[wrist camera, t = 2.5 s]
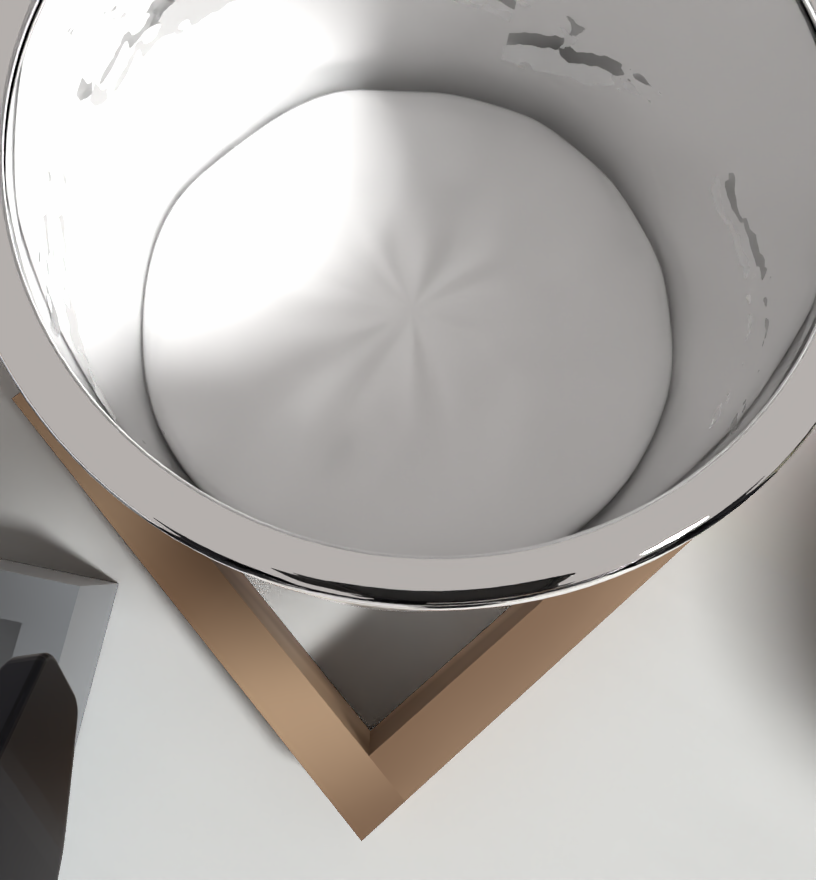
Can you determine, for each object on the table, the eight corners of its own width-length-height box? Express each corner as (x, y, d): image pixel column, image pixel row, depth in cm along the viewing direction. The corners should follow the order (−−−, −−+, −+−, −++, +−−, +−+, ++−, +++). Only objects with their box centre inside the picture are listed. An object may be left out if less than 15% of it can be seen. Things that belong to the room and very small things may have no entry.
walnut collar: (725, 477, 20) (773, 464, 18) (363, 804, 19) (361, 841, 16) (421, 141, 21) (426, 85, 19) (57, 419, 20) (11, 399, 17)
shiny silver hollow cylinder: (285, 303, 21) (38, -370, 6) (540, 341, 21) (949, -225, 6) (239, 562, 19) (-218, 559, 5) (509, 602, 19) (919, 722, 5)
